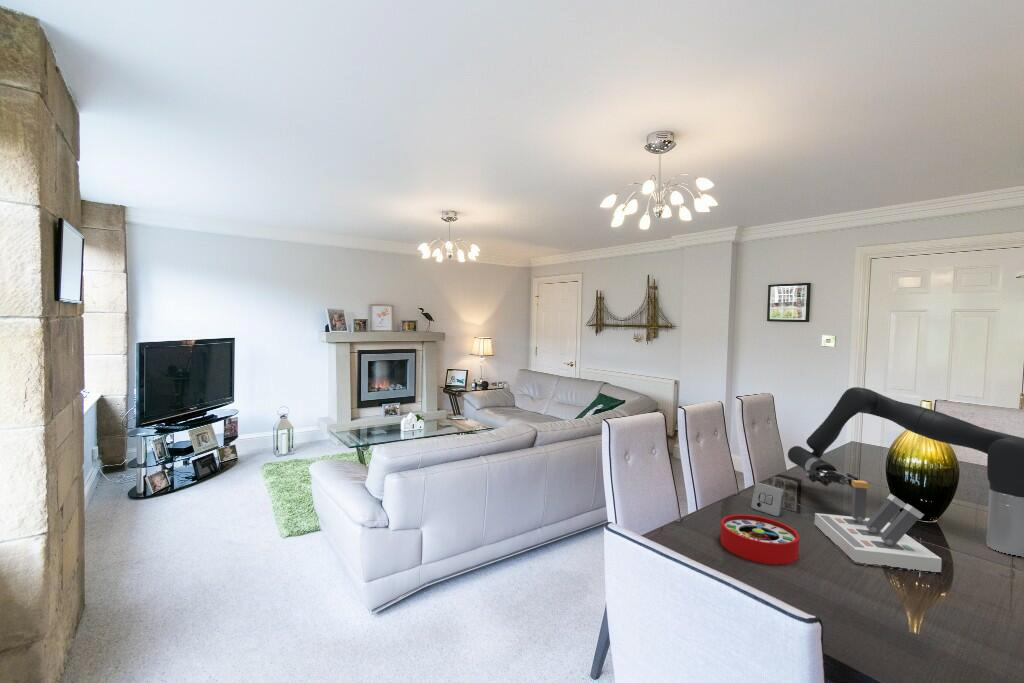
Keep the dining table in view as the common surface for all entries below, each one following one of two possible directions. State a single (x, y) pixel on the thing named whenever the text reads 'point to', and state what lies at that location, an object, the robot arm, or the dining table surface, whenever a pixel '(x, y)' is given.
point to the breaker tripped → (859, 499)
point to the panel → (875, 544)
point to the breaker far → (901, 525)
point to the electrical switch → (767, 499)
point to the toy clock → (759, 539)
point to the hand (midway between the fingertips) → (841, 484)
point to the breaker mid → (884, 514)
